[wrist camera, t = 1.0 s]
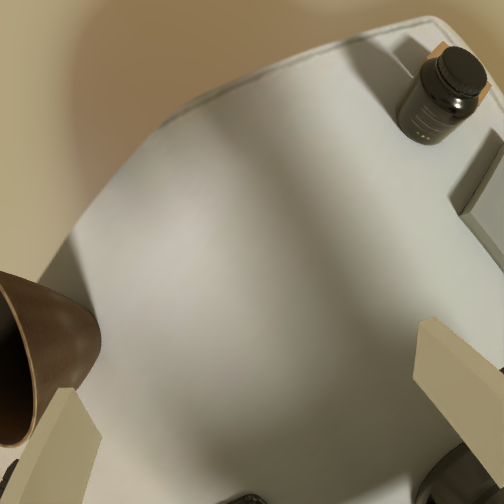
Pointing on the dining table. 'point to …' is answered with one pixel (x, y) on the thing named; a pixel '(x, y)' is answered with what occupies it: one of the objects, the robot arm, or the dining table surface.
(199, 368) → the dining table surface
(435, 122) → the supplement bottle
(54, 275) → the dining table surface
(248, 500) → the phone
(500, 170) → the tray
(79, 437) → the robot arm
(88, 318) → the plant pot
